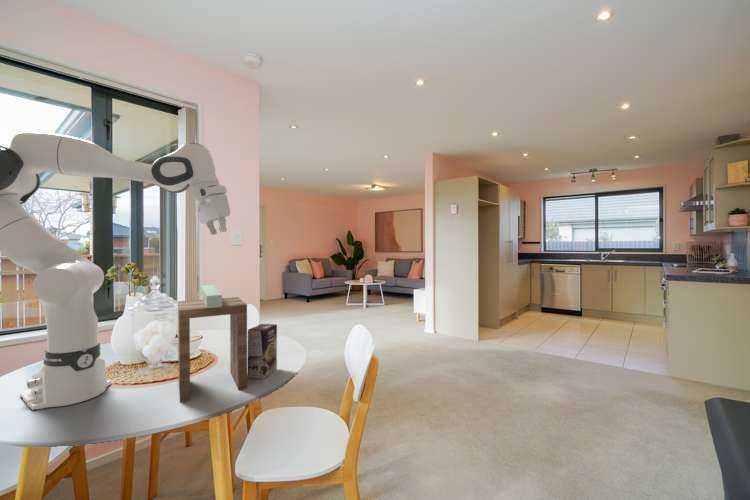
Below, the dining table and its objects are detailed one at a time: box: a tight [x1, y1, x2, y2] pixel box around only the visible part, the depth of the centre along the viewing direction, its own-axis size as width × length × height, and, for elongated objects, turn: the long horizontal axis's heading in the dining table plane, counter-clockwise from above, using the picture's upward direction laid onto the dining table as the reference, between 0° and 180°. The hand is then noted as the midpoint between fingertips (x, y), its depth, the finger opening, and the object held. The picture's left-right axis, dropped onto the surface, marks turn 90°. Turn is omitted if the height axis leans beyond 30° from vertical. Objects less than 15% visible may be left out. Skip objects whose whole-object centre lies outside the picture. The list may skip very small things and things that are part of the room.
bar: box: [199, 284, 223, 308], centre depth 111 cm, size 26×4×4 cm, turn 31°
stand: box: [177, 296, 248, 403], centre depth 107 cm, size 16×18×26 cm
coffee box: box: [247, 323, 278, 380], centre depth 117 cm, size 9×6×16 cm
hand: (218, 233), depth 115 cm, fingers open, 8 cm apart
